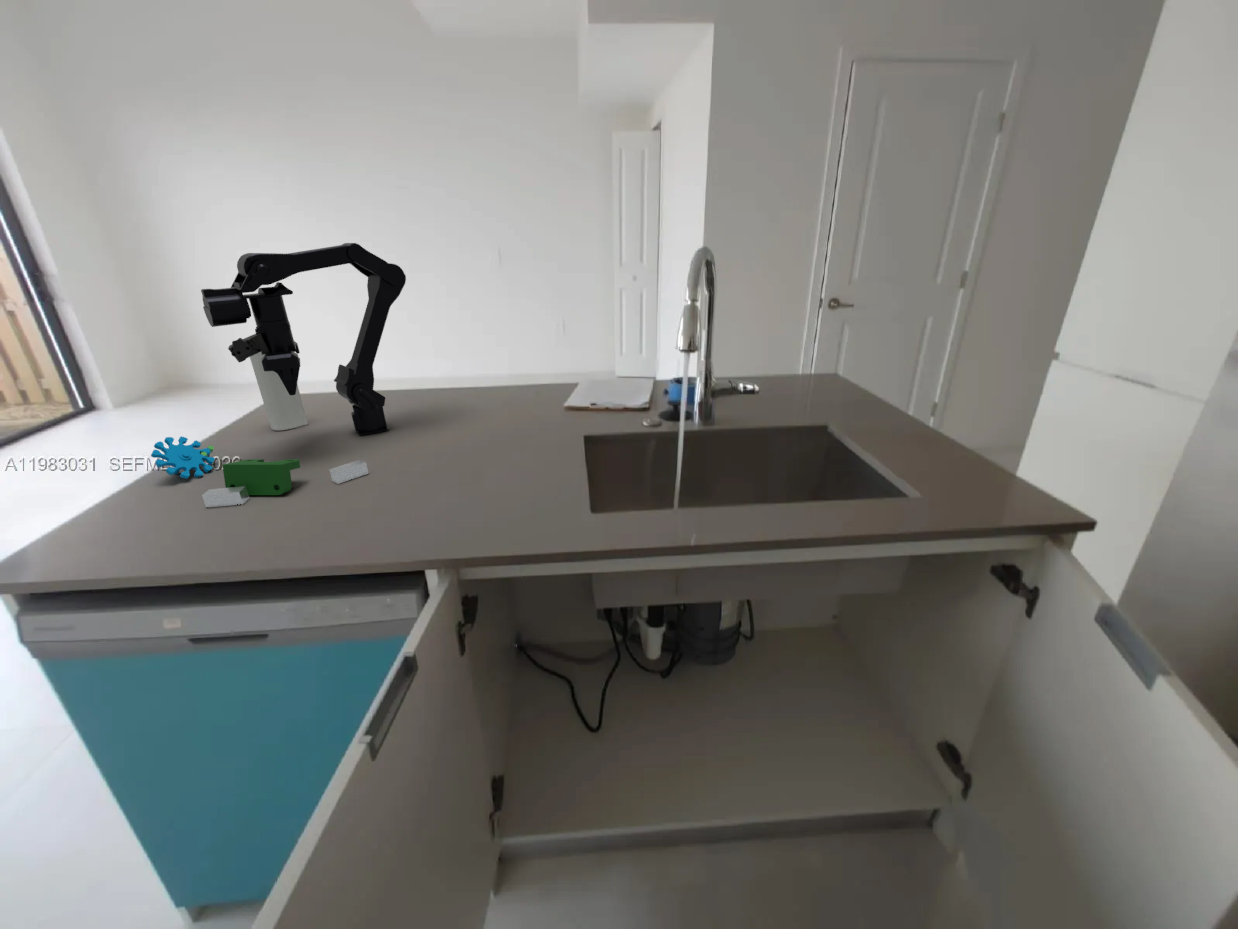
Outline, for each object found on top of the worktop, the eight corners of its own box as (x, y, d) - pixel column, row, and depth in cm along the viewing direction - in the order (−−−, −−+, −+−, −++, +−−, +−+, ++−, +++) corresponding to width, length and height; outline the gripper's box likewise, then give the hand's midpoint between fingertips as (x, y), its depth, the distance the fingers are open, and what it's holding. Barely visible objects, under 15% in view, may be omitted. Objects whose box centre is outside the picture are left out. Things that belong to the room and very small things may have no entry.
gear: (175, 480, 103) (140, 440, 103) (164, 498, 105) (131, 459, 105) (232, 465, 113) (200, 428, 113) (221, 482, 115) (190, 446, 116)
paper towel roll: (265, 429, 133) (238, 341, 124) (287, 421, 138) (263, 336, 129) (286, 433, 130) (260, 342, 122) (308, 424, 135) (284, 337, 127)
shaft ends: (367, 469, 109) (364, 458, 108) (370, 477, 105) (367, 465, 105) (207, 502, 98) (203, 490, 97) (204, 512, 94) (200, 500, 93)
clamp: (298, 505, 105) (311, 462, 103) (276, 513, 99) (290, 468, 98) (240, 481, 105) (253, 438, 104) (215, 487, 99) (228, 442, 98)
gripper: (228, 318, 114) (251, 390, 121) (219, 330, 99) (245, 413, 106) (289, 312, 119) (307, 382, 125) (289, 324, 104) (310, 403, 110)
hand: (292, 394), depth 117 cm, fingers closed
